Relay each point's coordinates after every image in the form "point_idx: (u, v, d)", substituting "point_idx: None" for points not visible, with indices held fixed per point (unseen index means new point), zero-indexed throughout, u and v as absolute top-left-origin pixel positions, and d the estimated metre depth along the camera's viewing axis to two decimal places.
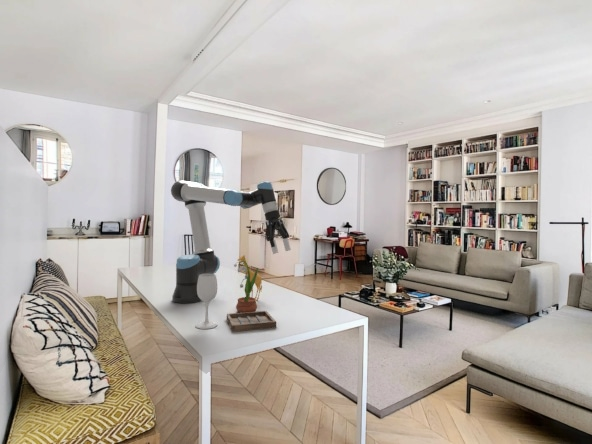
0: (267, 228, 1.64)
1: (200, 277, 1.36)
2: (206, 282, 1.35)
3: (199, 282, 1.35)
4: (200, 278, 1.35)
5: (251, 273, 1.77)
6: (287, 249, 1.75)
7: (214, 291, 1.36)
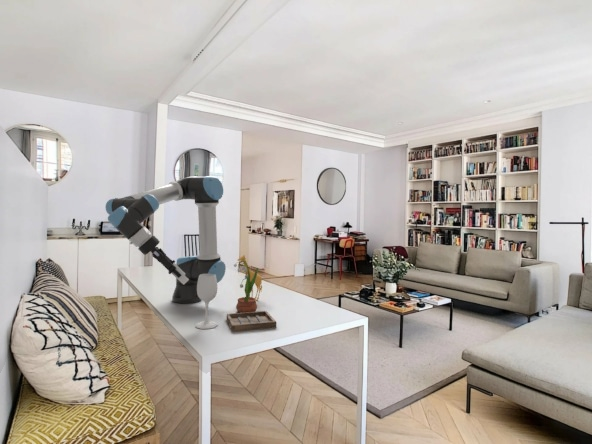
0: None
1: (200, 277, 1.36)
2: (206, 282, 1.35)
3: (199, 282, 1.35)
4: (200, 278, 1.35)
5: (251, 273, 1.77)
6: None
7: (214, 291, 1.36)
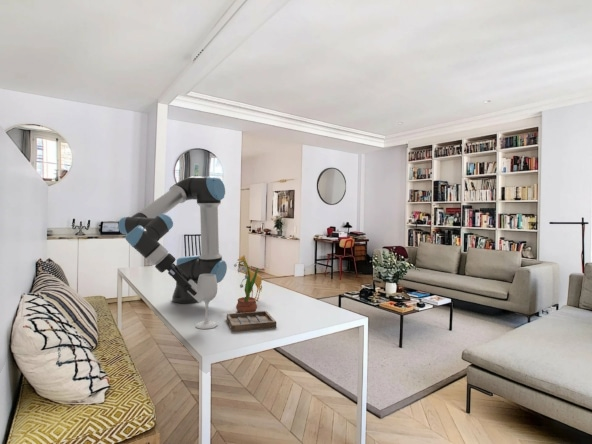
0: None
1: (200, 277, 1.36)
2: (206, 282, 1.35)
3: (199, 282, 1.35)
4: (200, 278, 1.35)
5: (251, 273, 1.77)
6: None
7: (214, 291, 1.36)
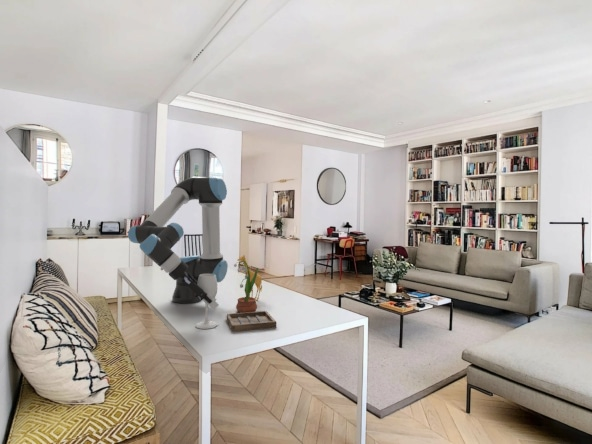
0: None
1: (200, 277, 1.36)
2: (206, 282, 1.35)
3: (199, 282, 1.35)
4: (200, 278, 1.35)
5: (251, 273, 1.77)
6: None
7: (214, 291, 1.36)
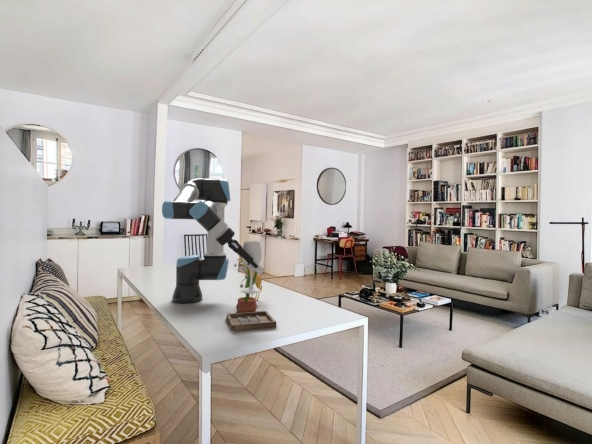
0: None
1: (246, 243, 1.39)
2: (252, 248, 1.38)
3: (245, 248, 1.39)
4: (246, 244, 1.39)
5: None
6: None
7: (259, 257, 1.40)
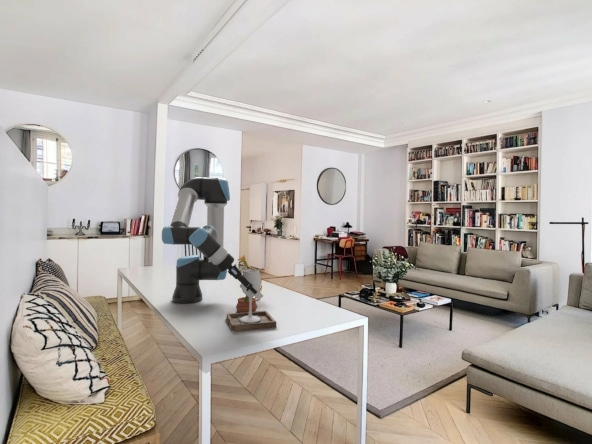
0: None
1: (245, 273, 1.40)
2: (251, 277, 1.39)
3: None
4: (245, 274, 1.40)
5: None
6: None
7: (258, 286, 1.41)
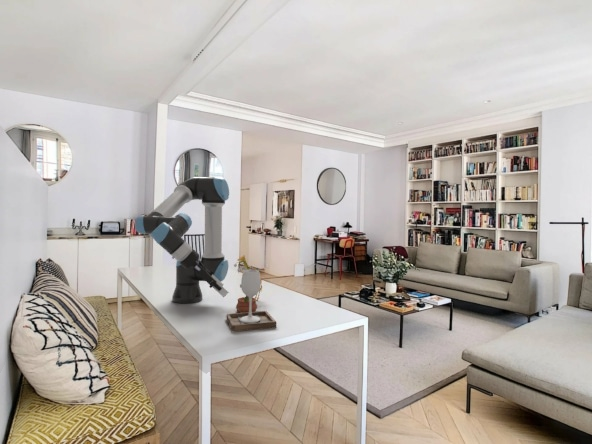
0: None
1: (245, 273, 1.40)
2: (251, 277, 1.39)
3: (244, 277, 1.40)
4: (245, 274, 1.40)
5: None
6: None
7: (258, 286, 1.41)
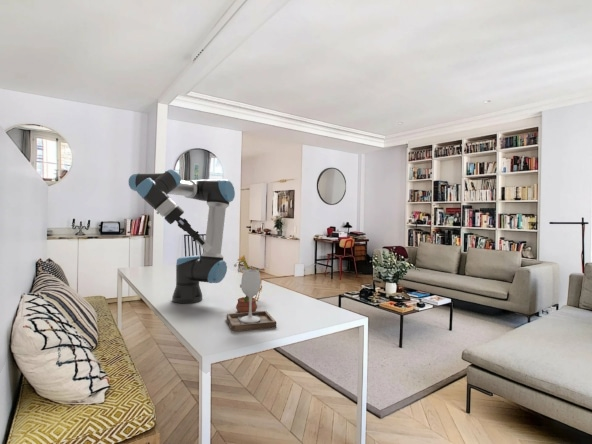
0: None
1: (245, 273, 1.40)
2: (251, 277, 1.39)
3: (244, 277, 1.40)
4: (245, 274, 1.40)
5: None
6: None
7: (258, 286, 1.41)
